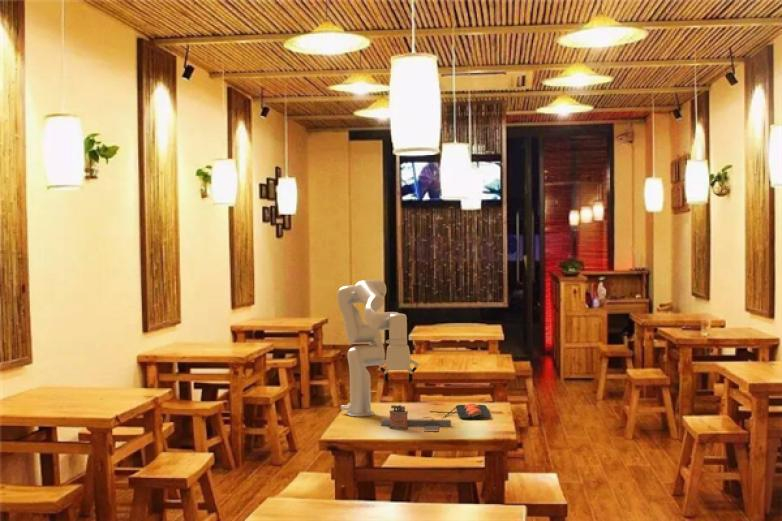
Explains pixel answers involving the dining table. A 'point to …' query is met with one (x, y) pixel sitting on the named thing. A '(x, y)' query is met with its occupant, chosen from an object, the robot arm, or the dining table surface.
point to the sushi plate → (470, 411)
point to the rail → (420, 422)
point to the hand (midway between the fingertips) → (398, 382)
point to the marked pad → (431, 428)
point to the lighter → (398, 418)
